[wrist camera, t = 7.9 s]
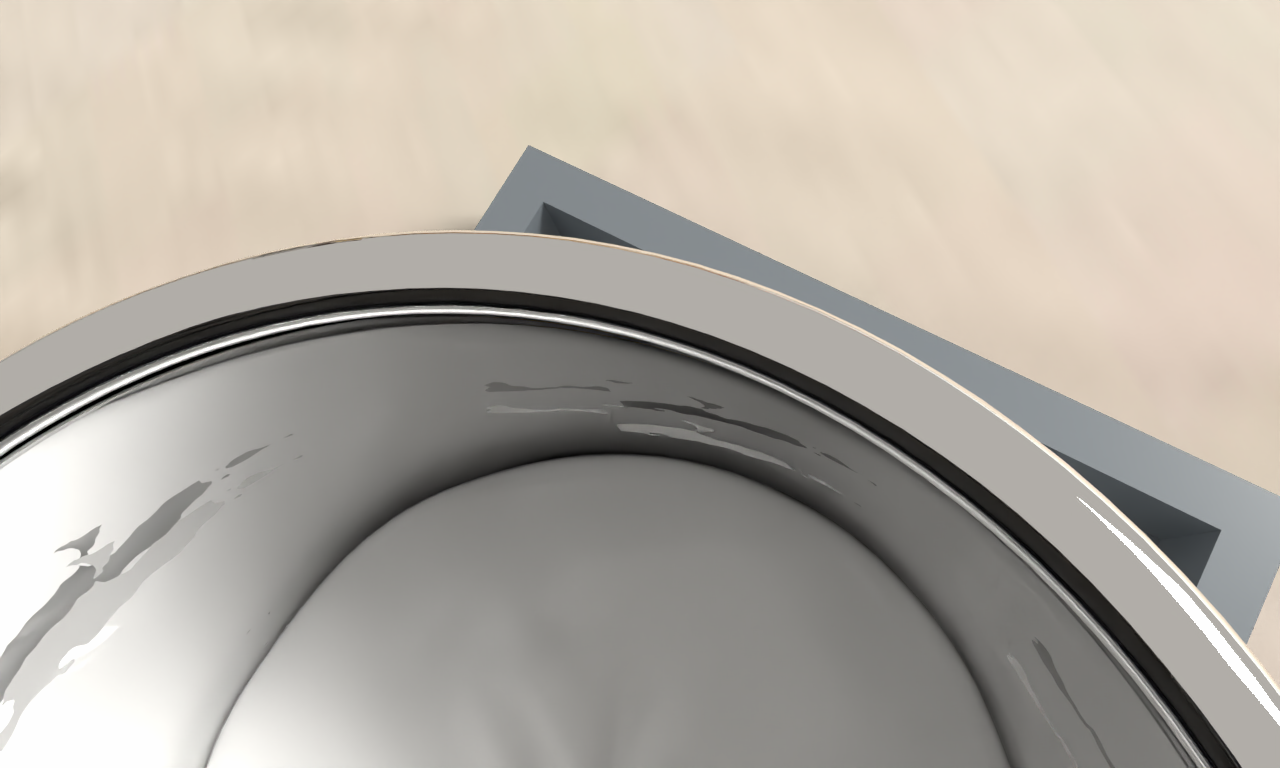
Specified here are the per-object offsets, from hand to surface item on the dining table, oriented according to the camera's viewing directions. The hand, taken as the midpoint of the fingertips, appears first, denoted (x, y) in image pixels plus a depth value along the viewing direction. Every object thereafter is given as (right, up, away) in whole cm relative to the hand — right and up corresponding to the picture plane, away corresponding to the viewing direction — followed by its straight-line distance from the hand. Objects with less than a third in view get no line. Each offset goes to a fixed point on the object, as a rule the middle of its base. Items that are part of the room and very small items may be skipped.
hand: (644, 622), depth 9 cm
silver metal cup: (+1, -4, +8) cm, 9 cm away
